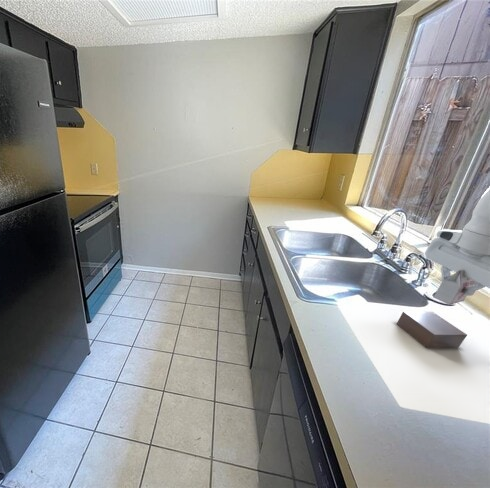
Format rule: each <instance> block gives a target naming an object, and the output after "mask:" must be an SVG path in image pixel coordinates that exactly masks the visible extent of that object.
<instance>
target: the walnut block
mask: <svg viewBox="0 0 490 488" xmlns="http://www.w3.org/2000/svg"><path fill="white" fill-rule="evenodd" d="M396 325H398V326H399V327H400V328H401V329H403V331H405V332H406V333H407V334H408V335H410V336H411V337H412V338H414V339H415V340H416V341H417V342H418V343H420V345H422V346H423V347H424V348H428V349H459V347H460V346H461V345H462V344H463V342H464V340H466V338H467V336H468V334H467V333H465V332H464V331H462V330H461V329H459V328H458V327H456V326H455V325H454V324H452V323H450V322H449V321H448V320H446V319H444V318H443V317H442V316H440V315H438V314H437V313H435V312H434V311H402V313H401V315H400V317H399V319H398V320H397V322H396Z"/></svg>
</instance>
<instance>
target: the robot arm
mask: <svg viewBox="0 0 490 488" xmlns="http://www.w3.org/2000/svg"><path fill="white" fill-rule="evenodd" d="M424 255H425V258H426V259H428V260H430V261H432V262H433V263H436V264H438V265H440V266H441V268H440V273H441V277H440V279H439V281H440V282H441V283H442V281H443V280H444V279H446V278H448V277H450V276H451V272H454V273H456V272H458V271H459V270H462V269H463V270H464V271H463V276H465V277H467V278H469V279H471V280H473V283H472V284H473V286H472V287H464V288H463V290H462V291H461V292H462V293H464V294H465V295H467V296H466V297H469V296H470V297H472V296H473V295H474V294H475V292H476V291H479V290H481V289H485V288H487V289H490V186H489V187H488V188H487V189H486V191H484V193H483V194H482V196H481V197H480V198H479V200H478V202H477V203H476V205H475V207H474V209H473V211H472V214H471V218H470V220H469V221H468V222H467V223H466V224H465V225H464V226H463V228H462V229H440V230H438V231H437V232H436V237H435V238H433V239H432V240H431V241H430V242H429V245H428V246H427V248H426V250H425V252H424Z"/></svg>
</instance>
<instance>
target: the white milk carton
mask: <svg viewBox="0 0 490 488" xmlns="http://www.w3.org/2000/svg"><path fill="white" fill-rule="evenodd" d="M463 271H464V270H463V269H462V270H459V271H458V272H454V273H453V274H452V275H451V274H450V277H448V278H446V279H444V280H443V281H442V282H441V283H440V285H439V286H438V288H437V290H436V292H435V293H434V295H433V298H434V299H435V300H438V301H439V302H441V303H444V304H446V305H448V306H451V305H454V304H457V303H461V302H465V299H466V298H467V297H468V296H467V295H465V294H464V293H462V292H461V291H462V290H463V288H464V287H472V286H474V285H473V284H472V283H473V280H471V279H469V278H467V277H465V276H463Z"/></svg>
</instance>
